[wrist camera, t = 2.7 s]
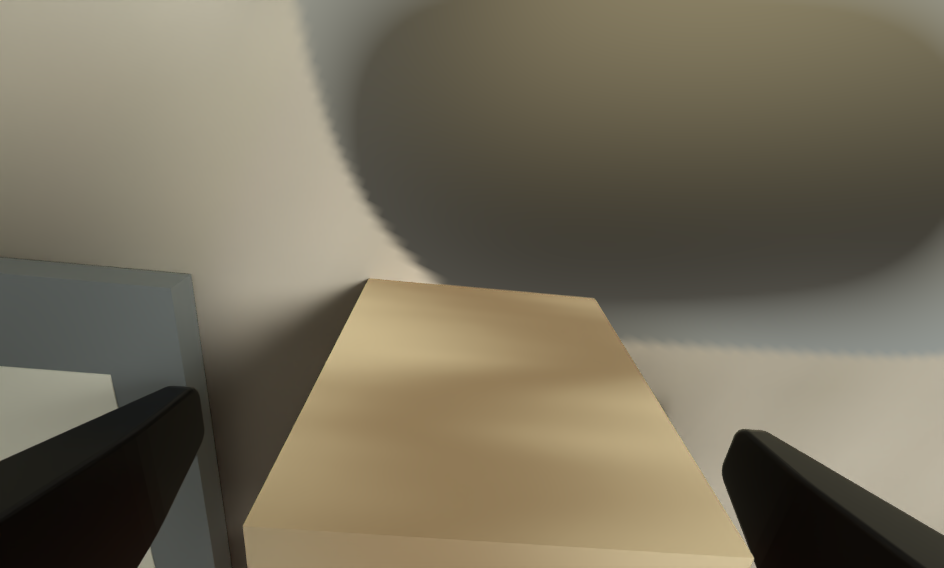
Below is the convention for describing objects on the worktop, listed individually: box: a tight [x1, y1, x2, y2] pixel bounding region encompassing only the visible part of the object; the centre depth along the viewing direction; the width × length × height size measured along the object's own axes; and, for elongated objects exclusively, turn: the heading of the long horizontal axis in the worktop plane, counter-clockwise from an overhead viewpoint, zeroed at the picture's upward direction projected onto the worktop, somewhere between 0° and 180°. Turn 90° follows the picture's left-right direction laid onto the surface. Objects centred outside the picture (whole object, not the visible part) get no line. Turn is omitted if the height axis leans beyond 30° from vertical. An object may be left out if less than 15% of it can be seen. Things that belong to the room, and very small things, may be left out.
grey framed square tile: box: [0, 257, 232, 568], centre depth 9 cm, size 8×9×1 cm
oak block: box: [243, 278, 754, 568], centre depth 7 cm, size 4×4×5 cm
